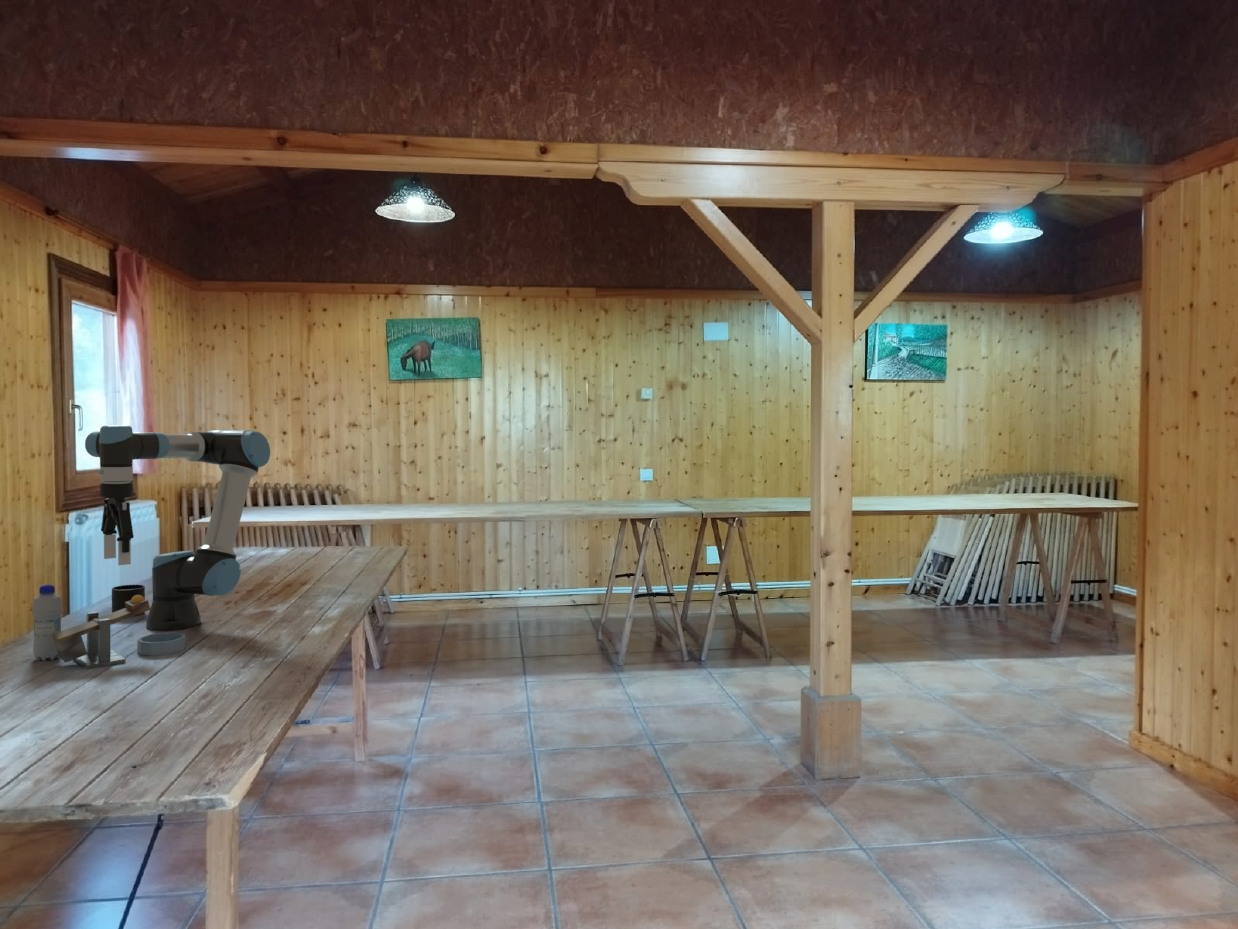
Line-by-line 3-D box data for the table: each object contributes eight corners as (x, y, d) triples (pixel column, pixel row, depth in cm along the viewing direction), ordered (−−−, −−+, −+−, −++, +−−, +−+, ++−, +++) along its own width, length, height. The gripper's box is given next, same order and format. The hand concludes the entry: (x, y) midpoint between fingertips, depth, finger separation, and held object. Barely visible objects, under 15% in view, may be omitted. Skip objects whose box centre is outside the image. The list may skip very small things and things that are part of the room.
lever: (66, 663, 209) (56, 634, 207) (58, 657, 214) (48, 628, 212) (157, 628, 224) (148, 600, 222) (147, 623, 229) (139, 596, 227)
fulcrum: (86, 669, 209) (86, 623, 209) (71, 658, 219) (71, 614, 218) (125, 662, 216) (125, 618, 215) (109, 652, 225) (109, 609, 225)
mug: (150, 608, 278) (150, 582, 278) (140, 616, 266) (140, 589, 266) (119, 610, 275) (119, 583, 275) (107, 618, 264) (107, 590, 263)
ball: (141, 603, 226) (136, 592, 225) (148, 602, 225) (144, 592, 224) (131, 608, 223) (126, 598, 222) (138, 608, 222) (134, 598, 221)
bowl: (146, 657, 221) (146, 645, 220) (132, 649, 228) (132, 637, 228) (190, 650, 229) (190, 638, 229) (176, 642, 237) (176, 630, 237)
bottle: (27, 662, 214) (27, 587, 213) (38, 655, 220) (38, 582, 219) (57, 661, 215) (56, 587, 215) (66, 654, 222) (66, 582, 221)
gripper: (87, 480, 224) (88, 557, 225) (114, 486, 207) (114, 569, 208) (118, 479, 230) (119, 554, 231) (146, 484, 213) (147, 565, 214)
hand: (117, 561), depth 220 cm, fingers open, 12 cm apart
